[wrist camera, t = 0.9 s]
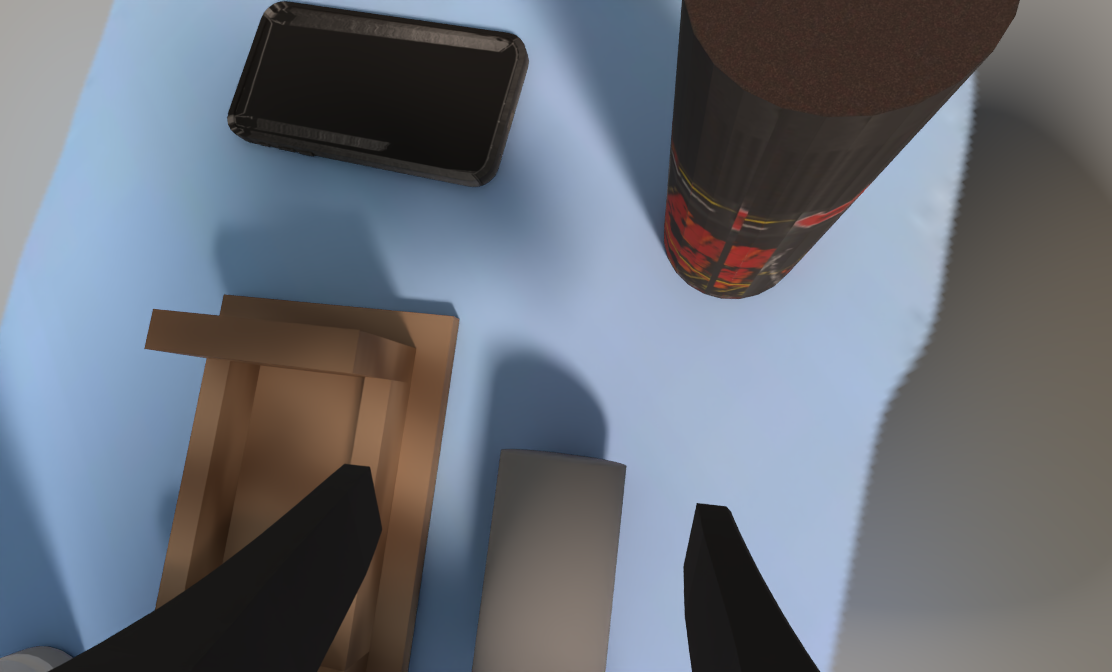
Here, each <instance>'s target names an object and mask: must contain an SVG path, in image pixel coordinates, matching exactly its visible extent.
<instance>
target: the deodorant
mask: <svg viewBox="0 0 1112 672" xmlns="http://www.w3.org/2000/svg"><path fill="white" fill-rule="evenodd" d="M1019 1H1020V0H682V7H681V20H680V33H679V45H678V58H677V71H676V84H675V97H674V109H673V122H672V135H671V148H670V161H669V174H668V186H667V199H666V212H665V225H664V244H665V248H666V252H667V256H668V259H669V261H670V263H671V264H672V266H673V268H674V269H675V271H676V273H677V274H678V275H679V276H680V277H681V278H682V279H683V280H684V281H685V282H686V283H687V284H688V285H690V286H692V287H693V288H695V289H697V290H699V291H700V292H702V293H704V294H707V295H711V296H714V297H718V298H723V299H741V298H746V297H750V296H754V295H758V294H760V293H762V292H764V291H766V290H768V289H770V288H772V287H774V286H775V285H776V284H777V283H778V282H779V281H780V280H781V279H783V278H784V277H785V276H786V275H787V274H788V273H789V272H790V271H791V270H792V268H793V267H794V266H795V265H796V264H797V263H798V262H799V261H800V260H801V259H802V258H803V257H804V255H805V254H806V253H807V252H808V251H809V250H810V249H811V248H812V247H813V246H814V245H815V244H816V242H817V241H818V240H819V239H820V238H821V237H822V236H823V235H824V234H825V233H826V232H827V231H828V229H829V228H830V227H831V226H832V225H833V224H834V223H835V222H836V221H837V220H838V219H839V218H840V216H841V215H842V214H843V213H844V212H845V211H846V210H847V209H848V208H849V207H850V206H851V205H852V203H853V202H854V201H855V200H856V199H857V198H858V197H859V196H860V195H861V194H862V193H863V192H864V190H865V189H866V188H867V187H868V186H869V185H870V184H871V183H872V182H873V181H874V180H875V179H876V177H877V176H878V175H879V174H880V173H881V172H882V171H883V170H884V169H885V168H886V167H887V166H888V164H889V163H890V162H891V161H892V160H893V159H894V158H895V157H896V156H897V155H898V154H899V153H900V151H901V150H902V149H903V148H904V147H905V146H906V145H907V144H908V143H909V142H910V141H911V140H912V138H913V137H914V136H915V135H916V134H917V133H918V132H919V131H920V130H921V129H922V128H923V127H924V125H925V124H926V123H927V122H928V121H929V120H930V119H931V118H932V117H933V116H934V115H935V114H936V112H937V111H938V110H939V109H940V108H941V107H942V106H943V105H944V104H945V103H946V102H947V101H948V99H949V98H950V97H951V96H952V95H953V94H954V93H955V92H956V91H957V90H958V89H959V88H960V86H961V85H962V84H963V83H964V82H965V81H966V80H967V79H968V78H969V77H970V76H971V75H972V73H973V72H974V71H975V70H976V69H977V68H978V67H979V66H980V65H981V64H982V63H983V61H984V60H985V59H986V58H987V57H988V56H989V55H990V54H991V53H992V52H993V50H994V49H995V47H996V46H997V44H998V43H999V41H1000V39H1001V38H1002V36H1003V35H1004V33H1005V31H1006V30H1007V28H1008V27H1009V25H1010V23H1011V22H1012V20H1013V19H1014V17H1015V15H1016V12H1017V8H1018V4H1019Z"/></svg>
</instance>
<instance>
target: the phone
mask: <svg viewBox="0 0 1112 672" xmlns="http://www.w3.org/2000/svg"><path fill="white" fill-rule="evenodd" d="M528 64H529V59H528V54H527V51H526V48H525V45H524V43H523V42H522V40H521V39H520V38H519V37H517V36H516V35H514V34H511V33H506V32H499V31H492V30H485V29H477V28H470V27H463V26H456V25H449V24H442V23H435V22H428V21H421V20H414V19H407V18H400V17H393V16H386V15H379V14H372V13H365V12H358V11H351V10H344V9H336V8H329V7H322V6H315V5H308V4H301V3H294V2H287V1H284V2H278V3H275V4H273V5H272V6H270V7H269V8H268V9H267V10H266V11H265V12H264V14H263V16H262V18H261V20H260V23H259V26H258V29H257V32H256V35H255V37H254V40H253V43H252V46H251V49H250V52H249V55H248V57H247V60H246V63H245V66H244V69H243V72H242V75H241V78H240V80H239V83H238V86H237V89H236V92H235V95H234V98H233V100H232V103H231V106H230V109H229V112H228V117H227V119H228V125H229V127H230V129H231V130H232V131H233V132H234V133H235V134H236V135H238V136H239V137H241V138H242V139H244V140H245V141H248V142H250V143H255V144H260V145H262V146H267V147H275V148H278V149H281V150H286V151H291V152H298V153H300V154H304V155H309V156H314V155H315V156H320V157H325V158H330V159H335V160H340V161H345V162H350V163H355V164H360V165H365V166H370V167H375V168H380V169H385V170H390V171H395V172H400V173H405V174H409V175H414V176H419V177H424V178H429V179H434V180H439V181H444V182H449V183H454V184H459V185H464V186H469V187H478V186H482V185H485V184H486V183H488V182H490V181H491V180H492V179H493V177H494V176H495V175H496V173H497V171H498V169H499V165H500V162H501V158H502V155H503V151H504V148H505V145H506V141H507V138H508V134H509V131H510V127H511V124H512V121H513V117H514V114H515V110H516V107H517V103H518V100H519V97H520V93H521V90H522V86H523V83H524V80H525V76H526V73H527V69H528ZM500 154H501V156H500Z"/></svg>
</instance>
